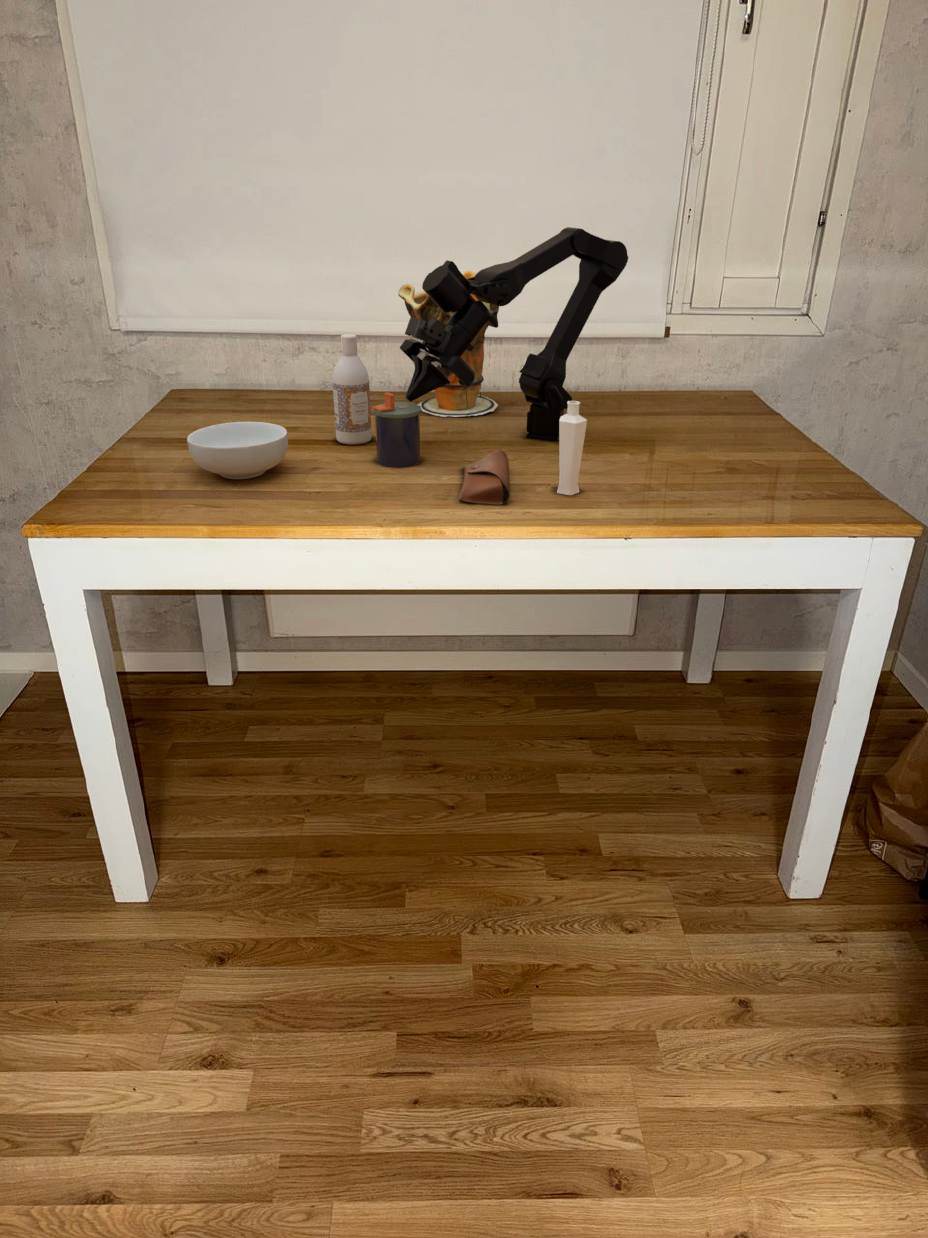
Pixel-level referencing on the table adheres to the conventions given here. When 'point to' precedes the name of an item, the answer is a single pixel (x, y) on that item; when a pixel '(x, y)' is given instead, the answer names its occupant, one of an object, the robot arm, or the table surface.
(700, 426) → the table surface
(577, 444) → the white tall faceted bottle
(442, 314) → the decorative vase
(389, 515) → the table surface
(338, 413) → the bath foam
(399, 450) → the travel cup
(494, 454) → the sunglasses case
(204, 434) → the cereal bowl
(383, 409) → the slider
